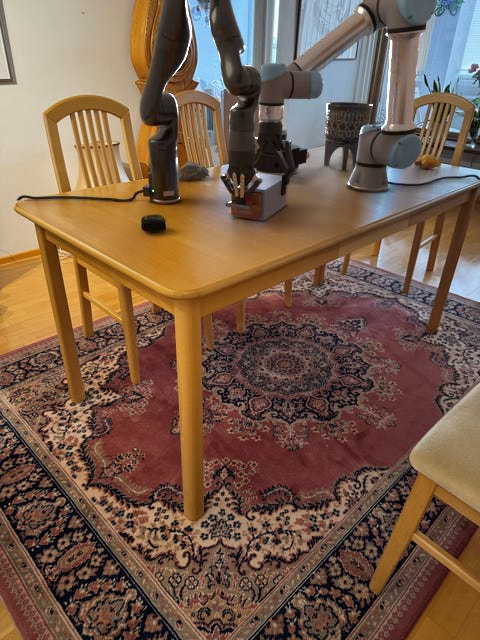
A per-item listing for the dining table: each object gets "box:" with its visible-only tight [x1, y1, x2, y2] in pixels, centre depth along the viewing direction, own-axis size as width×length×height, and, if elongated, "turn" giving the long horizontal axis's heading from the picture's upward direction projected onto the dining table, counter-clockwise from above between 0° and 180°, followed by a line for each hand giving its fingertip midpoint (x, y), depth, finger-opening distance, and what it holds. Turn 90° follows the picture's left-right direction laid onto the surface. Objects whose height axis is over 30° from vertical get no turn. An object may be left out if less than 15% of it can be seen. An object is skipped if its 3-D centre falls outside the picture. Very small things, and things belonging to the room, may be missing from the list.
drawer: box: [224, 192, 262, 220], centre depth 142 cm, size 24×9×8 cm, turn 154°
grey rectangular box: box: [232, 173, 288, 222], centre depth 146 cm, size 20×11×10 cm, turn 154°
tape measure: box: [140, 213, 167, 233], centre depth 128 cm, size 7×7×4 cm
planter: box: [323, 101, 374, 172], centre depth 204 cm, size 20×20×26 cm
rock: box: [178, 160, 210, 182], centre depth 182 cm, size 13×9×6 cm, turn 131°
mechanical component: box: [254, 127, 311, 176], centre depth 191 cm, size 22×21×30 cm
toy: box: [413, 154, 442, 170], centre depth 212 cm, size 11×6×15 cm
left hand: (240, 209), depth 135 cm, fingers closed
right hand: (267, 192), depth 151 cm, fingers closed on grey rectangular box, 11 cm apart
